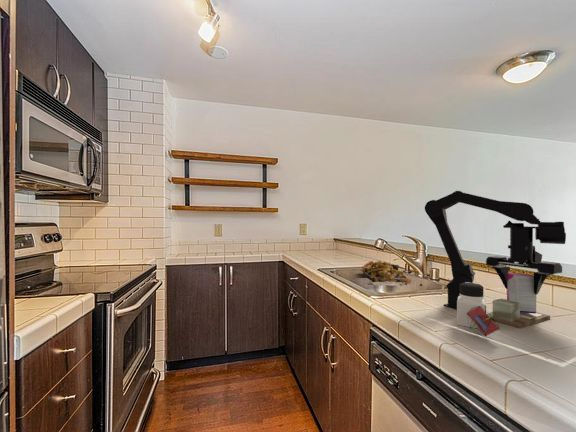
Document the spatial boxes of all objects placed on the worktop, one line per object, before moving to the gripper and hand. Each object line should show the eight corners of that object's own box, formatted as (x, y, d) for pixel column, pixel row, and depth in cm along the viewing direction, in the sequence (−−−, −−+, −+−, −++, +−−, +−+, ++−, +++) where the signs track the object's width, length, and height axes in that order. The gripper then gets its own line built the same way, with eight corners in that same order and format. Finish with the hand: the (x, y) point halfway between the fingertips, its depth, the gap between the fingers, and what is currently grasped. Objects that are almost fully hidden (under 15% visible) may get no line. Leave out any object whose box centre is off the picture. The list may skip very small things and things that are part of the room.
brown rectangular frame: (519, 328, 85) (519, 307, 85) (483, 317, 94) (483, 298, 94) (550, 318, 93) (550, 299, 93) (514, 309, 102) (513, 292, 102)
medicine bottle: (486, 330, 84) (486, 287, 84) (456, 325, 87) (456, 284, 87) (485, 322, 90) (485, 282, 90) (458, 318, 93) (458, 280, 94)
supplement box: (537, 313, 92) (537, 276, 92) (515, 312, 93) (515, 275, 93) (526, 308, 98) (526, 273, 98) (505, 307, 99) (506, 272, 99)
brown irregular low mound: (353, 273, 173) (353, 255, 173) (397, 274, 172) (397, 255, 172) (368, 287, 138) (368, 264, 138) (423, 288, 137) (423, 265, 137)
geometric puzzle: (504, 334, 79) (498, 303, 80) (498, 341, 74) (492, 308, 75) (473, 331, 84) (468, 302, 85) (466, 338, 79) (461, 307, 80)
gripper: (570, 243, 91) (570, 295, 91) (503, 239, 107) (503, 283, 107) (553, 245, 86) (553, 299, 86) (485, 240, 102) (484, 286, 102)
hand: (521, 291), depth 95 cm, fingers closed on supplement box, 8 cm apart
